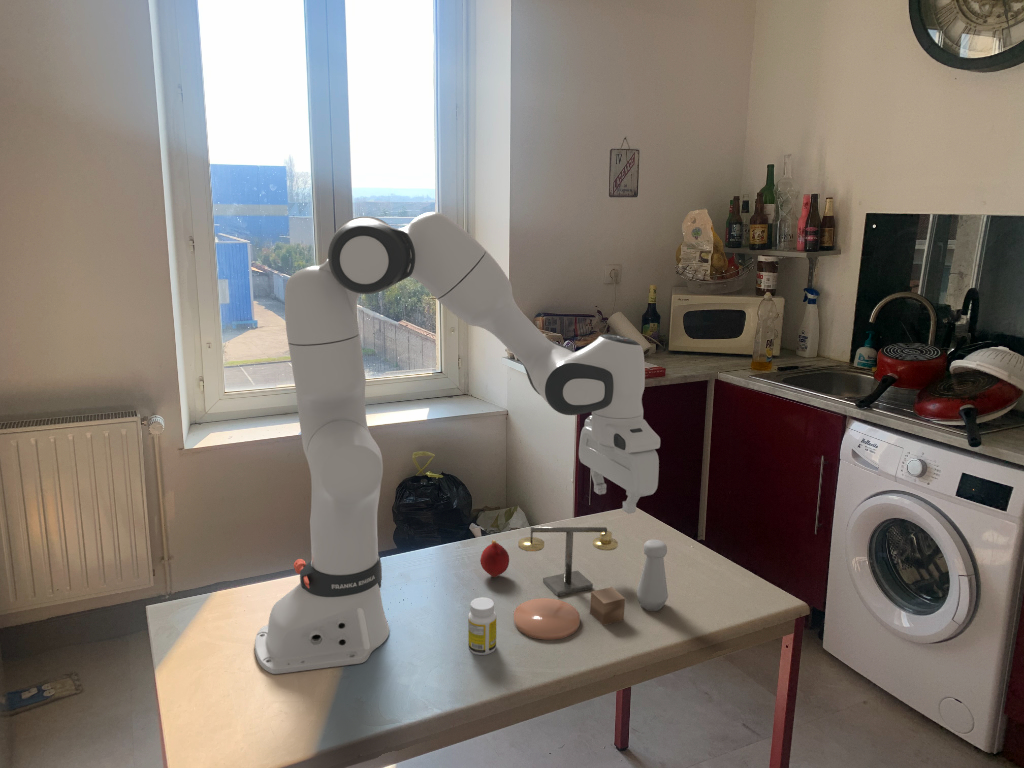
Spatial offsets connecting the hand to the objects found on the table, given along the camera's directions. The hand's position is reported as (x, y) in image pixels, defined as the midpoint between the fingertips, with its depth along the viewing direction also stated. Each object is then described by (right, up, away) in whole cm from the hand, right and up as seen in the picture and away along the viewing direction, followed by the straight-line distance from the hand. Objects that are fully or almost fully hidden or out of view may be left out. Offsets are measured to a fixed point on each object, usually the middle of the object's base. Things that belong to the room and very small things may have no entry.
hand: (614, 502), depth 131 cm
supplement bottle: (-23, -24, -5) cm, 34 cm away
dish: (-12, -22, +3) cm, 25 cm away
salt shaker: (+8, -21, +9) cm, 25 cm away
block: (-1, -22, +5) cm, 23 cm away
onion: (-22, -19, +19) cm, 34 cm away
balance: (-7, -19, +16) cm, 26 cm away
